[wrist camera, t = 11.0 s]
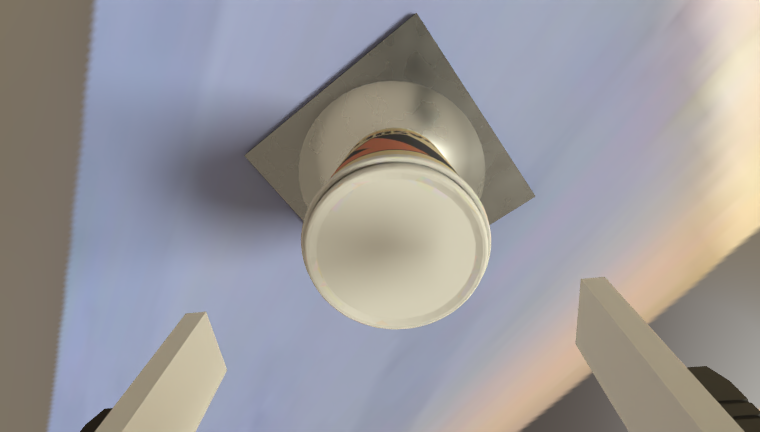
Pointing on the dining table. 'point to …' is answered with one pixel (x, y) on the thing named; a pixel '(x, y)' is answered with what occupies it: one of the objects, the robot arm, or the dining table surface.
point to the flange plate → (391, 125)
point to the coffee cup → (395, 233)
